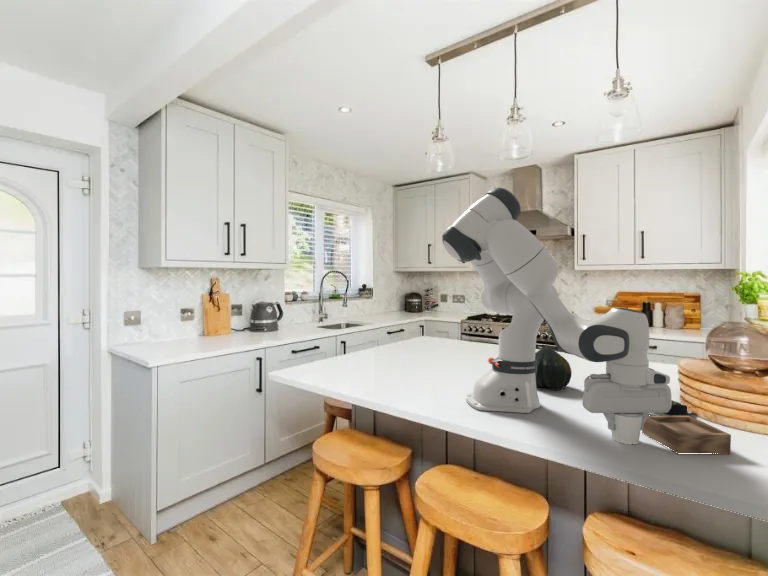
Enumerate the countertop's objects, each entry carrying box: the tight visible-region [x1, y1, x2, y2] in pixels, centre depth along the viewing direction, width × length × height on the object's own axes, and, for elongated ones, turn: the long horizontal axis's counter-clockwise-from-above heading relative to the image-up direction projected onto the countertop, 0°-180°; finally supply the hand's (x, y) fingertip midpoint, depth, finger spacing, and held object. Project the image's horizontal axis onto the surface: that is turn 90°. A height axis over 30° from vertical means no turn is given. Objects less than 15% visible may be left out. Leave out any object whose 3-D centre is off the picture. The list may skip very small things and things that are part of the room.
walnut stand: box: [641, 416, 732, 455], centre depth 95 cm, size 12×12×4 cm
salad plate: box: [649, 399, 693, 417], centre depth 118 cm, size 19×18×5 cm
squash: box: [535, 345, 572, 391], centre depth 142 cm, size 14×15×15 cm
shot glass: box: [610, 413, 642, 445], centre depth 96 cm, size 7×7×7 cm
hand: (625, 429), depth 96 cm, fingers closed on shot glass, 5 cm apart
